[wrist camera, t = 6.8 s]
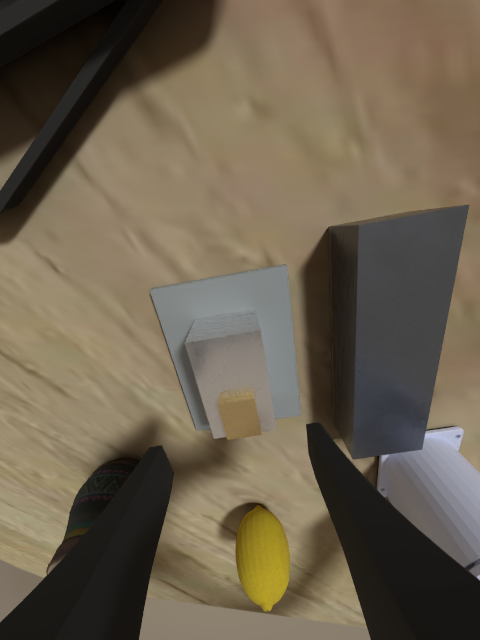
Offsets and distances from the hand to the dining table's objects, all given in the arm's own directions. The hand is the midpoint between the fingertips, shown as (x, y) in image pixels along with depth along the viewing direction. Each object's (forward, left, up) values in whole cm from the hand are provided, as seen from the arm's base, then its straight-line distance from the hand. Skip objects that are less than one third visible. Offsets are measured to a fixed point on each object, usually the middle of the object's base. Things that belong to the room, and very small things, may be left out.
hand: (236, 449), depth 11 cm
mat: (0, 0, -9) cm, 9 cm away
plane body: (0, -11, -9) cm, 14 cm away
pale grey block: (0, 0, -8) cm, 8 cm away
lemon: (-21, +1, -9) cm, 23 cm away
